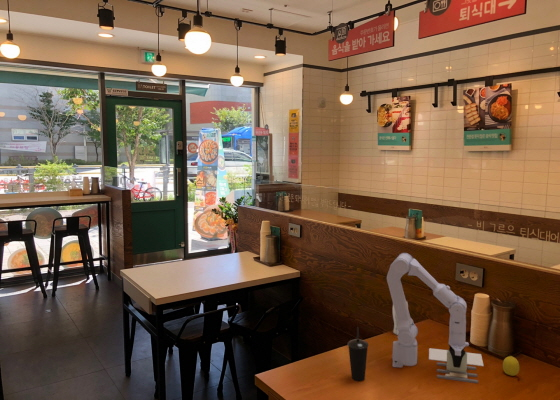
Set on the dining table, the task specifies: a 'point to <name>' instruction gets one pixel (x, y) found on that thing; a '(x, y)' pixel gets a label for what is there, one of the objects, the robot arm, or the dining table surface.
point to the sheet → (451, 368)
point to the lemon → (511, 366)
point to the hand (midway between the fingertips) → (456, 365)
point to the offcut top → (458, 375)
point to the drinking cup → (358, 357)
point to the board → (442, 356)
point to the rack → (456, 372)
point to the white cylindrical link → (396, 321)
